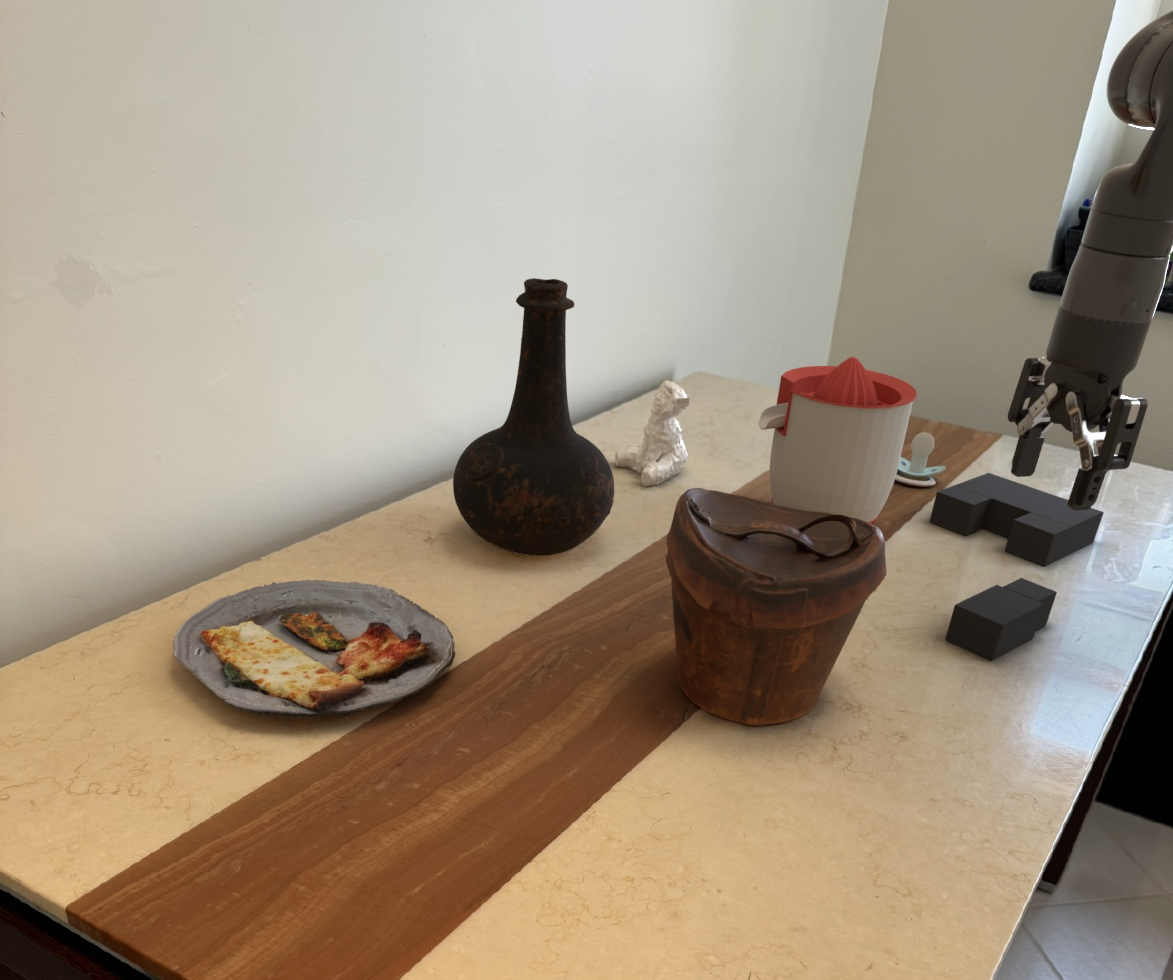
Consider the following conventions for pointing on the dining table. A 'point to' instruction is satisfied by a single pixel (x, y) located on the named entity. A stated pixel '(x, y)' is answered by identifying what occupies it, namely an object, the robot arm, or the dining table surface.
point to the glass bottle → (536, 449)
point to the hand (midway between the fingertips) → (1048, 491)
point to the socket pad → (1016, 517)
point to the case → (764, 601)
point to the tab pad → (1000, 618)
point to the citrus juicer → (837, 438)
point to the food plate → (314, 648)
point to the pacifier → (918, 463)
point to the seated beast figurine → (659, 439)
